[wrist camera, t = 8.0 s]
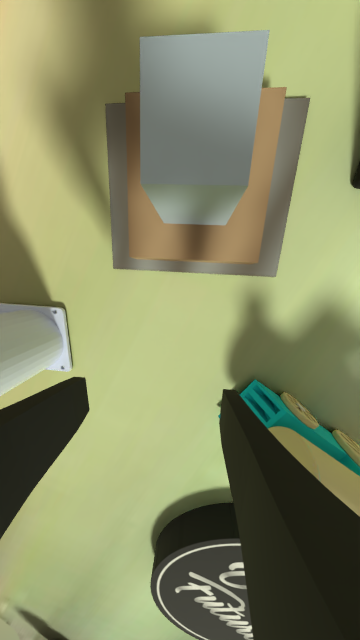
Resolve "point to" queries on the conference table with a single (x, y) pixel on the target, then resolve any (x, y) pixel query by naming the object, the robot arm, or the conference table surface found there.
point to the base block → (207, 240)
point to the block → (199, 121)
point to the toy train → (309, 442)
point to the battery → (357, 178)
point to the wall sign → (203, 575)
